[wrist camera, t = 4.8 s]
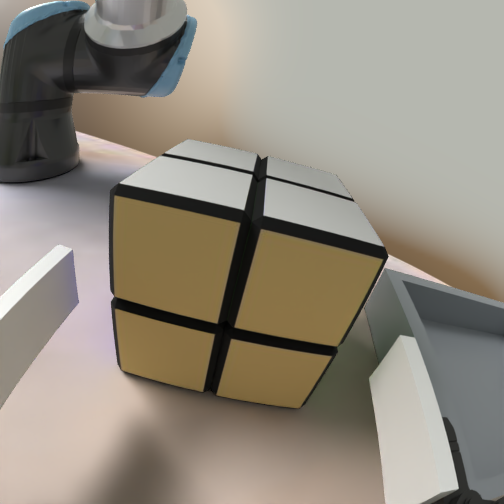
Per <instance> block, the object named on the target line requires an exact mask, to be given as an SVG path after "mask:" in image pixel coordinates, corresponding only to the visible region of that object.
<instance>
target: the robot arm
mask: <svg viewBox="0 0 504 504" xmlns="http://www.w3.org/2000/svg"><path fill="white" fill-rule="evenodd" d="M95 1H96V2H95V3H94V4H93V5H92V6H91V8H90V6H89V5H88V4H87V3H85V2H81V1H66V2H62V1H55V2H49V3H45V4H40V5H37V6H34V7H31V8H29V9H27V10H25V11H23V12H21V13H20V14H18V15H17V16H16V18H15V19H14V20H13V21H12V23H11V25H10V28H9V31H8V35H7V38H6V41H5V44H4V53H3V60H2V66H1V74H0V182H26V181H34V180H40V179H45V178H50V177H53V176H57V175H60V174H63V173H65V172H68V171H70V170H72V169H73V168H75V167H76V166H77V165H78V163H79V144H78V143H77V138H76V133H75V127H74V123H73V118H72V113H71V112H72V111H71V109H72V99H73V94H74V93H104V94H119V95H131V96H140V97H147V96H153V97H165V96H167V95H169V94H171V93H172V92H173V91H174V89H175V88H176V86H177V84H178V82H179V79H180V77H181V74H182V72H183V69H184V65H185V60H186V59H187V56H188V54H189V52H190V49H191V45H192V42H193V39H194V35H195V32H196V27H197V21H196V19H195V18H193V17H190V16H189V15H187V7H186V4H185V2H184V1H183V0H95ZM78 303H79V300H78V293H77V286H76V277H75V268H74V258H73V249H70V248H67V247H65V246H62V245H59V244H58V245H57V246H56V247H55V248H54V249H52V250H51V251H50V252H49V253H48V254H47V255H45V256H44V257H43V258H42V259H41V260H40V261H38V262H37V263H36V264H35V265H34V266H33V267H32V268H30V269H29V270H28V271H27V272H26V273H25V274H24V275H23V276H22V277H21V278H19V279H18V280H17V281H16V282H15V283H14V284H13V285H12V286H11V287H10V288H9V289H8V290H7V291H6V292H5V293H4V294H3V295H2V296H1V297H0V409H1V407H2V406H3V404H4V403H5V401H6V400H7V398H8V397H9V395H10V394H11V392H12V391H13V389H14V388H15V386H16V385H17V383H18V382H19V380H20V379H21V378H22V376H23V375H24V373H25V372H26V371H27V369H28V368H29V366H30V365H31V364H32V362H33V361H34V359H35V358H36V357H37V355H38V354H39V353H40V351H41V350H42V349H43V347H44V346H45V345H46V343H47V342H48V341H49V339H50V338H51V337H52V335H53V334H54V333H55V332H56V330H57V329H58V328H59V327H60V325H61V324H62V323H63V322H64V320H65V319H66V318H67V317H68V315H69V314H70V313H71V312H72V310H73V309H74V308H75V307H76V306H77V304H78ZM369 382H370V388H371V394H372V400H373V406H374V412H375V419H376V426H377V433H378V440H379V448H380V456H381V465H382V474H383V484H384V496H385V504H504V496H503V497H502V498H500V499H498V500H496V501H492V500H484V499H482V497H481V495H480V494H479V493H478V492H477V491H475V490H470V489H469V486H468V482H467V477H466V473H465V468H464V464H463V460H462V456H461V452H459V450H460V448H459V444H458V443H457V437H456V433H455V430H454V427H453V426H452V424H451V423H450V421H449V419H448V418H447V417H442V416H441V413H440V410H439V406H438V403H437V400H436V396H435V393H434V390H433V387H432V384H431V381H430V378H429V375H428V372H427V369H426V366H425V364H424V361H423V358H422V355H421V352H420V350H419V347H418V344H417V342H416V339H415V338H414V337H408V336H403V335H400V336H399V337H398V339H397V340H396V342H395V343H394V344H393V346H392V347H391V349H390V350H389V352H388V353H387V355H386V356H385V357H384V359H383V360H382V362H381V363H380V364H379V366H378V367H377V368H376V370H375V371H374V372H373V374H372V375H371V376H370V378H369Z"/></svg>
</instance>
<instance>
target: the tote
mask: <svg viewBox="0 0 504 504" xmlns="http://www.w3.org/2000/svg"><path fill="white" fill-rule="evenodd" d="M365 312H366V315H367V319H368V323H369V326H370V330H371V334H372V338H373V342H374V346H375V350H376V354H377V358H378V362H379V364H380V363H381V362H382V360H383V359H384V357H385V356H386V355H387V353H388V352H389V350H390V349H391V347H392V346H393V344H394V343H395V342H396V340H397V339H398V337H399V336H400V335H403V336H408V337H414V338H415V339H416V342H417V344H418V347H419V350H420V352H421V355H422V358H423V361H424V364H425V366H426V369H427V372H428V375H429V378H430V381H431V384H432V387H433V390H434V393H435V396H436V400H437V403H438V406H439V410H440V413H441V416H442V417H447V418H448V419H449V421H450V423H451V424H452V426H453V427H454V430H455V433H456V437H457V443H458V444H459V448H460V450H459V452H461V456H462V460H463V464H464V468H465V473H466V477H467V482H468V486H469V489H470V490H475V491H477V492H478V493H479V494H480V495H481V497H482V499H484V500H492V501H496V500H498V499H500V498H502V497H503V496H504V303H502V302H499V301H495V300H492V299H489V298H485V297H482V296H479V295H476V294H472V293H469V292H466V291H462V290H459V289H456V288H452V287H449V286H446V285H442V284H439V283H435V282H432V281H428V280H425V279H422V278H418V277H415V276H411V275H408V274H404V273H401V272H397V271H394V270H390V269H387V268H385V269H384V271H383V273H382V275H381V277H380V279H379V281H378V283H377V285H376V287H375V289H374V291H373V293H372V295H371V297H370V298H369V300H368V302H367V304H366V306H365Z"/></svg>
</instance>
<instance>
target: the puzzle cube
mask: <svg viewBox="0 0 504 504" xmlns="http://www.w3.org/2000/svg"><path fill="white" fill-rule="evenodd" d="M388 257H389V256H388V254H387V251H386V249H385V247H384V245H383V244H382V242H381V240H380V239H379V237H378V235H377V234H376V232H375V231H374V229H373V227H372V226H371V224H370V223H369V221H368V220H367V218H366V217H365V215H364V214H363V212H362V211H361V209H360V208H359V206H358V205H357V203H356V202H354V200H353V198H352V196H351V195H350V193H349V192H348V191H347V189H346V188H345V186H344V185H343V184H342V182H341V181H340V179H339V178H338V176H337V175H335V174H332V173H328V172H325V171H322V170H318V169H314V168H311V167H307V166H304V165H300V164H296V163H293V162H289V161H285V160H281V159H277V158H273V157H269V156H267V157H266V158H264V159H262V160H261V158H260V157H259V155H258V154H256V153H252V152H248V151H243V150H239V149H235V148H230V147H225V146H221V145H216V144H211V143H206V142H201V141H195V140H190V139H187V140H185V141H183V142H182V143H180V144H179V145H177V146H175V147H173V148H172V149H170V150H169V151H167V152H165V153H164V154H162V155H161V156H159V157H157V158H156V159H154V160H153V161H151V162H150V163H148V164H146V165H145V166H143V167H142V168H140V169H139V170H137V171H136V172H134V173H133V174H131V175H130V176H128V177H127V178H126V179H124V180H123V181H121V182H120V183H118V184H117V185H116V186H115V187H114V188H112V189H111V190H110V205H109V269H110V290H111V292H112V293H113V295H114V298H113V299H112V301H111V309H112V320H113V330H114V339H115V347H116V355H117V362H118V365H119V367H120V369H121V370H122V371H125V372H128V373H131V374H135V375H138V376H141V377H145V378H148V379H152V380H155V381H159V382H163V383H167V384H170V385H174V386H178V387H182V388H186V389H191V390H195V391H199V392H205V391H207V390H209V389H210V388H211V390H212V391H213V392H214V393H215V395H217V396H222V397H227V398H232V399H237V400H243V401H249V402H255V403H261V404H268V405H275V406H283V407H291V408H301V407H302V406H303V405H304V404H305V403H306V402H307V400H308V399H309V397H310V396H311V394H312V393H313V391H314V390H315V388H316V386H317V385H318V383H319V382H320V380H321V379H322V377H323V375H324V374H325V372H326V371H327V369H328V367H329V366H330V364H331V362H332V361H333V359H334V357H335V356H336V354H337V352H338V350H337V347H338V346H339V345H340V344H342V343H343V342H344V340H345V338H346V337H347V335H348V333H349V331H350V330H351V328H352V326H353V324H354V322H355V321H356V319H357V317H358V315H359V313H360V312H361V310H362V308H363V306H364V304H365V302H366V300H367V299H368V297H369V295H370V293H371V291H372V289H373V287H374V285H375V283H376V281H377V279H378V277H379V275H380V273H381V271H382V269H383V267H384V265H385V263H386V261H387V259H388ZM212 380H213V381H212ZM211 384H212V386H211Z"/></svg>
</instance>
